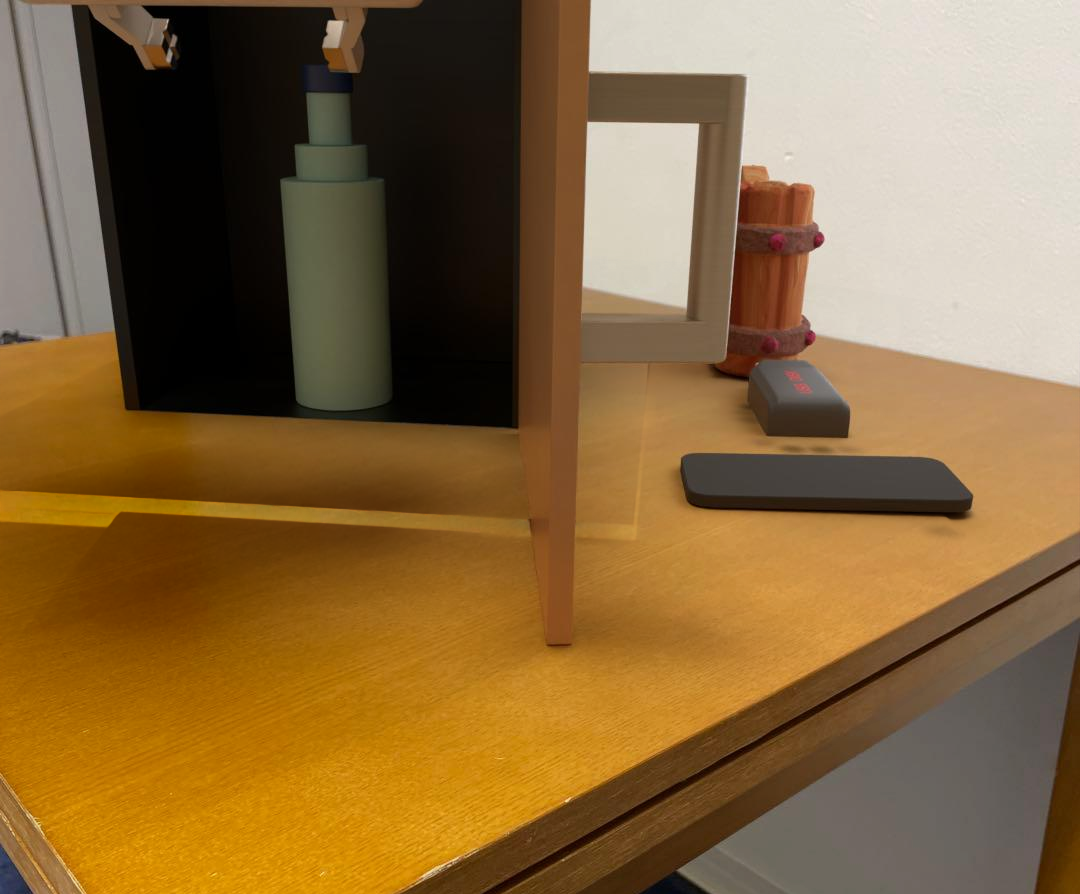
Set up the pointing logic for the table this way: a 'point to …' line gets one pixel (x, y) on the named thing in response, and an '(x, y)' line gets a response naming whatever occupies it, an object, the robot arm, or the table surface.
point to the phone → (822, 482)
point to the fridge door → (558, 248)
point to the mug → (770, 272)
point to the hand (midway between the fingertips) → (255, 62)
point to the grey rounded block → (796, 400)
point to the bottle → (336, 258)
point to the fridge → (256, 204)
